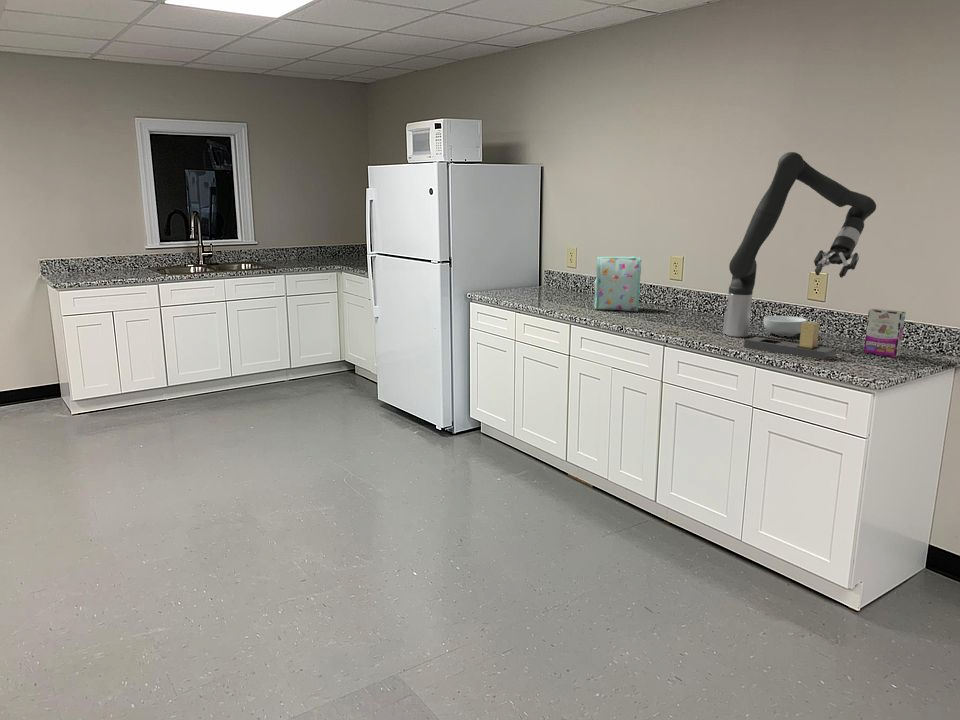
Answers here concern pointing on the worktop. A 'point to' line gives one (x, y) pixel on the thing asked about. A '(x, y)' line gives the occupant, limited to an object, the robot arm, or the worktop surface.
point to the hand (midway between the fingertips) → (828, 274)
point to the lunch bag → (617, 283)
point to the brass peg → (809, 335)
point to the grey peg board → (788, 348)
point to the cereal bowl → (783, 325)
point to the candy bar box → (884, 332)
